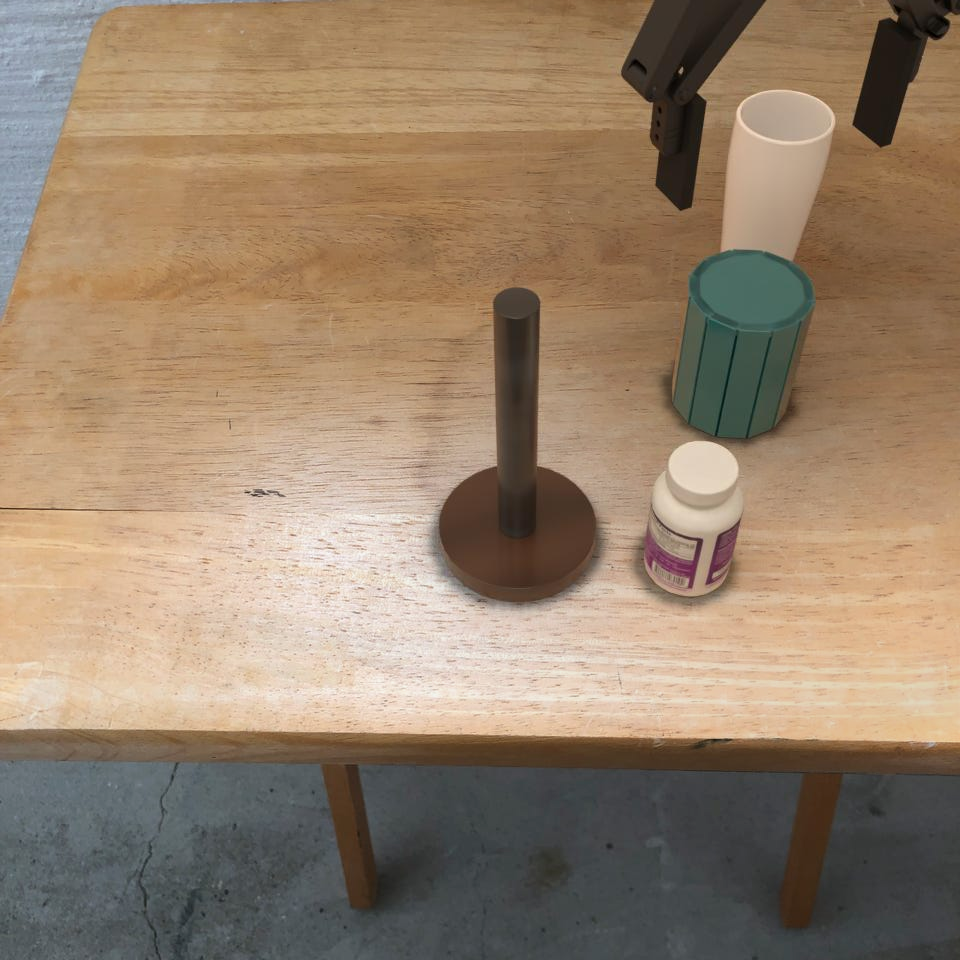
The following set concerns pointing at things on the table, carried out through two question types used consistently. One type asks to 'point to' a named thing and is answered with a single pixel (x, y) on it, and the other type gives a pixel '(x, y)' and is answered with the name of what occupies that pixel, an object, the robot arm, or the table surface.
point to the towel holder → (517, 484)
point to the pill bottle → (694, 519)
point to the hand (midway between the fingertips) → (774, 165)
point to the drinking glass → (774, 170)
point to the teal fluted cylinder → (740, 342)
